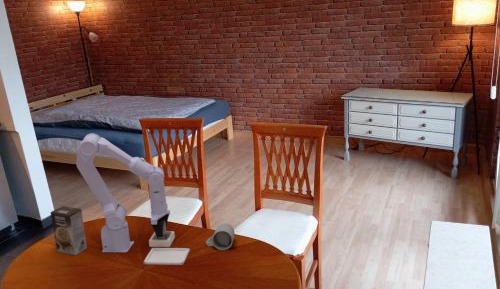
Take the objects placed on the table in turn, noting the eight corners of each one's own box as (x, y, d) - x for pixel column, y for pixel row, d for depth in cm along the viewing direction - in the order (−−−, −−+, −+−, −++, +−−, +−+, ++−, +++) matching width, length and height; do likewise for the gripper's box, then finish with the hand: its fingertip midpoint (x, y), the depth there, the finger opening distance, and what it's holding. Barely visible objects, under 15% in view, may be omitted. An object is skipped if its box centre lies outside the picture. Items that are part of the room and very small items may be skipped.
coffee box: (56, 252, 165) (49, 212, 161) (69, 244, 171) (62, 205, 167) (75, 256, 162) (68, 215, 158) (87, 247, 168) (81, 208, 163)
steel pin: (156, 244, 167) (154, 222, 165) (159, 239, 171) (156, 217, 168) (165, 244, 167) (163, 222, 164) (168, 239, 170) (166, 218, 168)
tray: (143, 265, 154) (143, 262, 153) (152, 250, 163) (152, 247, 163) (183, 266, 152) (182, 262, 152) (189, 251, 162) (189, 248, 161)
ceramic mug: (235, 239, 169) (234, 220, 167) (233, 250, 161) (231, 230, 159) (208, 239, 170) (206, 221, 168) (204, 250, 162) (202, 231, 160)
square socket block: (149, 247, 166) (148, 240, 165) (155, 238, 173) (155, 231, 172) (169, 248, 165) (168, 240, 164) (174, 238, 172) (174, 231, 171)
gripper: (163, 208, 157) (166, 243, 160) (173, 192, 171) (176, 225, 174) (143, 208, 157) (147, 242, 161) (156, 192, 171) (159, 225, 175)
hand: (161, 233), depth 168 cm, fingers open, 4 cm apart
